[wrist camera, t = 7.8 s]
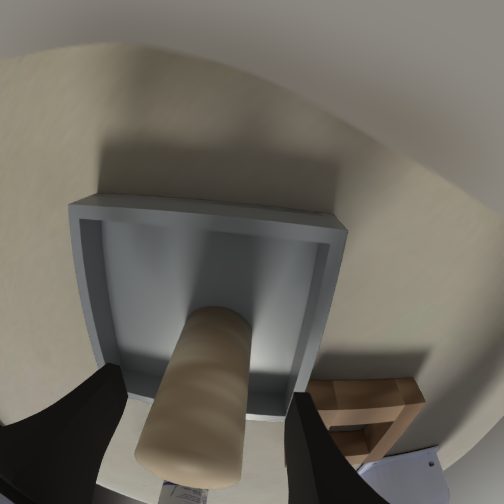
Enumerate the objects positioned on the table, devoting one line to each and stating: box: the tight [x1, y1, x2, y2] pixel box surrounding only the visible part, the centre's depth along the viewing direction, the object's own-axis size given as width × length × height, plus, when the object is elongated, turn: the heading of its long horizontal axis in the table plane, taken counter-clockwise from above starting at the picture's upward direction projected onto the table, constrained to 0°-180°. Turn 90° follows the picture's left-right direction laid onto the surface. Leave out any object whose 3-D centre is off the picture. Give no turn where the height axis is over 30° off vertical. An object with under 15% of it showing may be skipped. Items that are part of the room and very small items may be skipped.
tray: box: [68, 193, 348, 422], centre depth 14 cm, size 12×12×2 cm
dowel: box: [134, 306, 252, 489], centre depth 11 cm, size 4×4×8 cm
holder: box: [284, 378, 426, 467], centre depth 17 cm, size 8×8×2 cm
